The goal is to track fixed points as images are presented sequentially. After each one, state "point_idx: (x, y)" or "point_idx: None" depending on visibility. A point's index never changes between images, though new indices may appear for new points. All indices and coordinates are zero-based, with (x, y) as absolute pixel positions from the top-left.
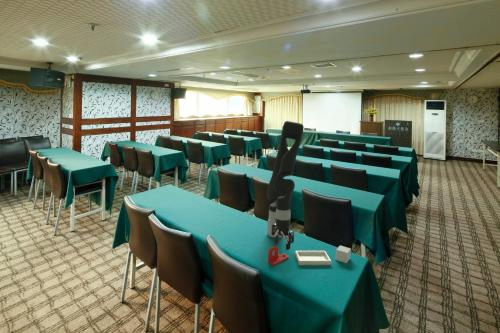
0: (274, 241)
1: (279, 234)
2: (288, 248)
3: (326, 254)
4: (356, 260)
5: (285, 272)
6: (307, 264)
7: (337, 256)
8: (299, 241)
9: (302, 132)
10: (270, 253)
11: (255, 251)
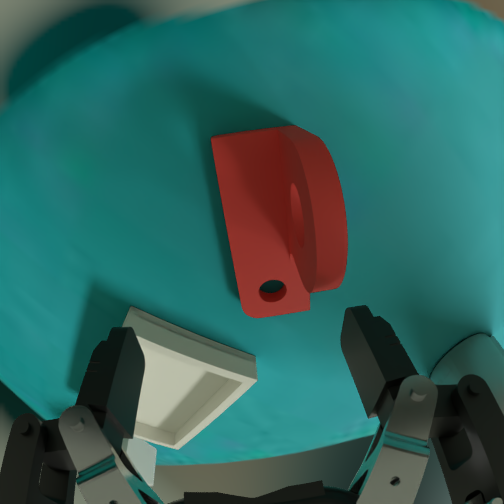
0: (385, 323)
1: (306, 500)
2: (93, 354)
3: (144, 438)
4: None
5: (83, 165)
6: None
7: (122, 445)
8: (344, 418)
9: None
10: (294, 157)
11: (465, 162)
